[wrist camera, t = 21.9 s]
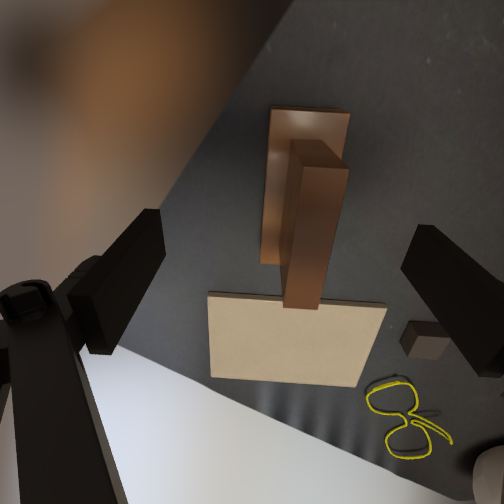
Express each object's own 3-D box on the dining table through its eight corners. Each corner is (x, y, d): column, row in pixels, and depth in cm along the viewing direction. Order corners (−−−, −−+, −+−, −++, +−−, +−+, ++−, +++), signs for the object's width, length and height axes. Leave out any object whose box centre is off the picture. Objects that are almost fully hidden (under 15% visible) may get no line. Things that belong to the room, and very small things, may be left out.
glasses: (358, 382, 43) (367, 413, 39) (426, 366, 40) (444, 398, 36) (390, 454, 54) (400, 485, 50) (445, 446, 52) (460, 478, 47)
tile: (212, 371, 43) (211, 377, 42) (208, 291, 35) (207, 296, 34) (353, 381, 43) (355, 387, 42) (384, 303, 34) (387, 308, 34)
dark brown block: (399, 341, 38) (407, 357, 36) (409, 320, 36) (418, 335, 34) (428, 344, 38) (438, 359, 36) (440, 323, 36) (451, 338, 34)
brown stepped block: (313, 249, 31) (336, 332, 21) (260, 246, 31) (256, 326, 21) (340, 109, 24) (396, 129, 13) (270, 105, 24) (272, 122, 14)
